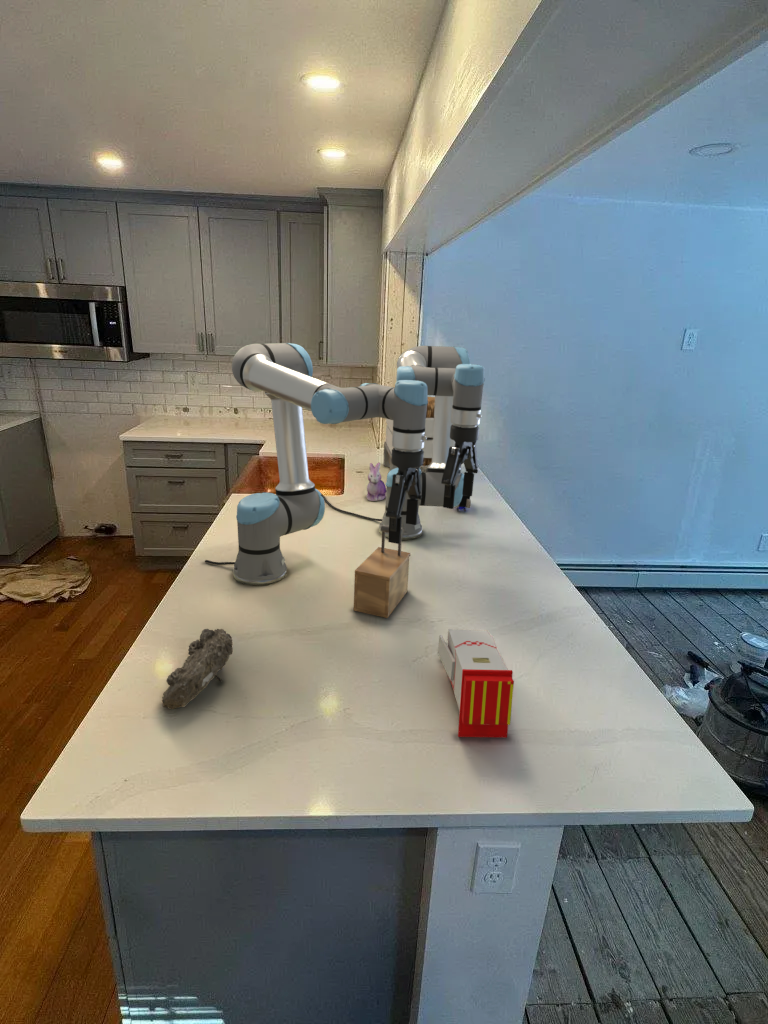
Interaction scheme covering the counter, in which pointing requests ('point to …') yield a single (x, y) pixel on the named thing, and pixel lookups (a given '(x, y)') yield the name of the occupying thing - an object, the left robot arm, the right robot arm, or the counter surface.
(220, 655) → the fossil
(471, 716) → the toy
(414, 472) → the left robot arm
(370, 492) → the figurine
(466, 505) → the figurine character
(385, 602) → the chest
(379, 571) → the lid
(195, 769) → the counter surface
